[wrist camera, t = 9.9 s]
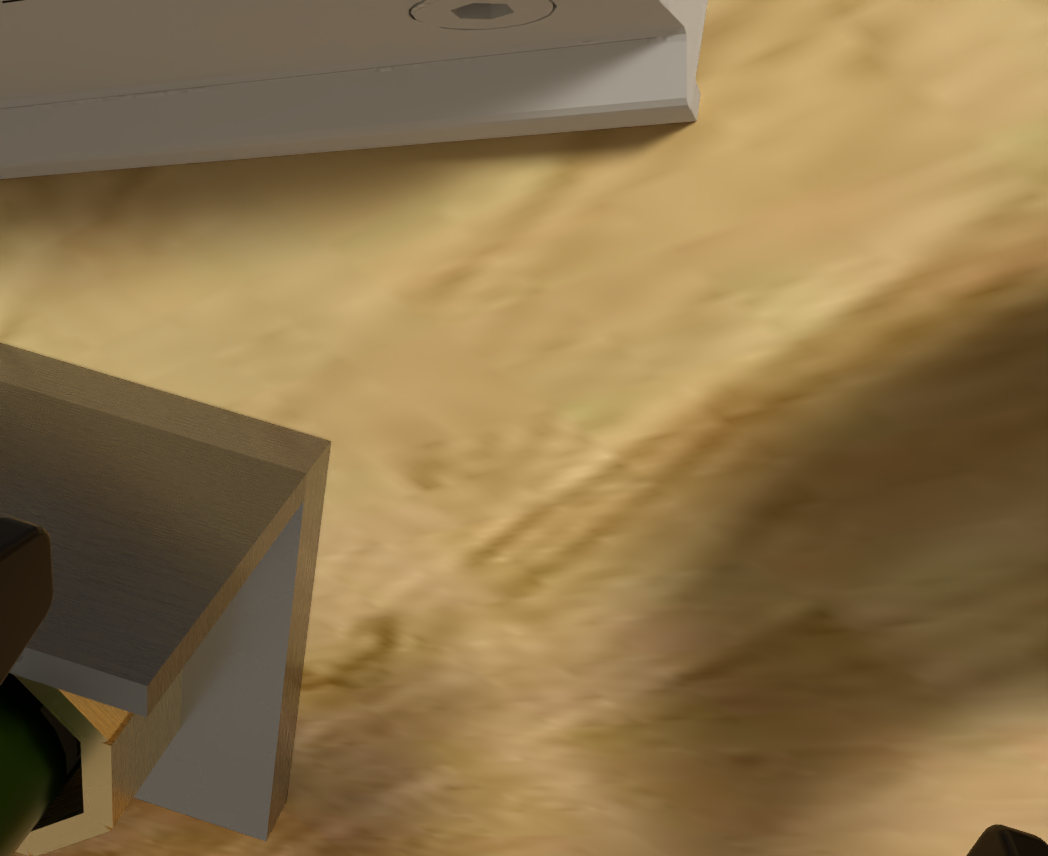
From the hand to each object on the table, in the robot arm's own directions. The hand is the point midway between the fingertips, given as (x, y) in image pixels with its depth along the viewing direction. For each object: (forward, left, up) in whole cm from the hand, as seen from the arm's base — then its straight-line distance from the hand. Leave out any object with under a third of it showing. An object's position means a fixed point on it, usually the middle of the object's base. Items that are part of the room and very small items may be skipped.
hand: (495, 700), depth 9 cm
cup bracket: (+13, +14, -13) cm, 23 cm away
